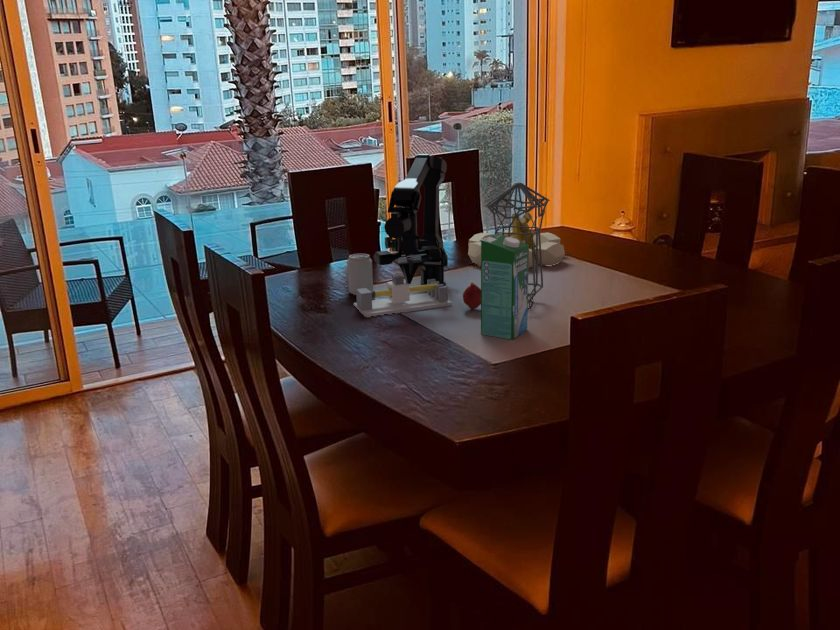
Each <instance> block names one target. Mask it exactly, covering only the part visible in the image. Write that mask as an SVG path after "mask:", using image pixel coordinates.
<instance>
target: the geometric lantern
mask: <svg viewBox="0 0 840 630" xmlns="http://www.w3.org/2000/svg"><path fill="white" fill-rule="evenodd" d="M521 191H522V192H521ZM521 193H523V194H524V196H525V197H526V199H527V200H528V201H523V200H522V195H521ZM509 194H510V195H509ZM513 194H514V199H512V196H513ZM508 195H509V196H508ZM535 195H536V196H535ZM507 196H508V198H506V197H507ZM537 196H538V197H540V198H538V197H537ZM517 197H519V199H518V200H517ZM501 201H504V202H505V205H501V204H500V205H499V203H501ZM549 201H551V199H549V198H547V197H546V196H544V195H542V194H541V193H539V192H537V191H535V190H534V189H532V188H531V187H529V186H527V185H526V184H524V183H523V182H515V183H513V184H512V185H511V186H510V187H509V188H507V189H506V190H504V191H503V192H501V193H500V194H499V195H497V196H496V197H495V198H493V199H492V200H489V202H487V203H486V204H485V206H486V207H487V209H488V210H489V211H490V212H491V213H492V215H493V223H494V234H496V233H500V234H502V235H504V234H508V237H510V234H520V235H525V244H527V235H531V241H532V262H533V266H532V277H533V279H532V280H533V283H531V282H528V286H533V289H532V291H531V292H530V293H529V292H528V307H530V305H531V301H530V300H533V301H534V297H535V296H536V295H537V294H538V293H539V292H540V291H541V290H542V289H543V288H544V278H543V277H544V276H543V265H542V256H541V239H540V233H541V230H542V225H543V220H544V216H545V214H546V213H545V212H546V207H547V205H548V203H549ZM511 202H514V203H511ZM517 203H520V206H517ZM523 204H526V205H525V206H523ZM529 204H530V205H529ZM528 205H529V206H528ZM499 208H501V209H503V210H504V213H502V212H500V211H499V210H498V209H499ZM507 208H509V209H513V212H514V213H513V214H515V216H512V215H511V216H510V215H509V216H507V211H506V209H507ZM535 208H537V215H536V216H535V219H534V220H533V217H532V218H531V216H532V215H531V216H530V214H531V211H533V210H534V209H535ZM516 211H517V212H516ZM516 213H517V214H516ZM525 213H528V215H529V216H530V218H531V220H530V221H531V222H532V226H529V227H525V226H523V225H522V223H521V221H520V220H519V218H520V216H522V215H524V214H525ZM529 213H530V214H529ZM496 216H497V219H498V220H499V222H500V224H499V225H498V226H497V221H496ZM500 216H501V217H503V219H502V220H501V217H500ZM518 216H519V218H518ZM540 217H541V218H540ZM512 218H514V219H513V220H512ZM516 218H517V220H518V221H519V223H520V225H521V226H512V224H513V222H514V220H515V219H516ZM538 218H540V222H539V227H538V226H536V224H535V223H536V221H537V219H538ZM505 219H506V220H508V219H511V222H510V224H509V225H504V224H503V223H504V221H505ZM512 227H516V228H523V230H524V231H525V233H510V230H511V228H512ZM525 228H529V229H531V230H530V233H527V231H526V230H525ZM505 229H507V230H508V233H506V232H504V231H505ZM533 229H535V231H533V232H534V233H531V231H532V230H533ZM500 230H502V231H500ZM533 234H534V235H536V256H535V251H534V242H533ZM538 237H539V254H540V266H539V263H538ZM534 259H535V263H536V265H535V263H534ZM538 267H539V268H540V284H539V282H538V281H539V280H538V277H539V276H538V275H539V271H538V270H539V268H538ZM537 286H538V287H539V288H538V289H537Z"/></svg>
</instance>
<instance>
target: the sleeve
mask: <svg viewBox="0 0 840 630" xmlns="http://www.w3.org/2000/svg"><path fill="white" fill-rule="evenodd" d="M409 287H410V284H408V283H407V282H406V280H405V278H404V275H403V276H402V275H401V274H396V275H395V274H394V275H392V276H391V281H387V282H386V290H389V289H392V295H391V296H387V298H388V299H389V300H390V301H391V302H393V303H398V302H405V301H410V295H411V293H409Z"/></svg>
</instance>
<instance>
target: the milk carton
mask: <svg viewBox="0 0 840 630" xmlns="http://www.w3.org/2000/svg"><path fill="white" fill-rule="evenodd" d="M493 234H494V235H492V236H489V237H487V238H484V239H482V240H481V267H480V289H481V305H480V335H483V336H488V337H495V338H500V339H506V340H512V341H513V340H514V339H516V338H517V337H518V336H520V335H522V332H523V331H524V332H526V331H527V330H528V314H529V313H528V307H529V302H528V299H529V297H528V293H529V285H528V283H529V270H530V268H529V245H528V244H525V243H523V242H520V241H519V240H518V239H515V238H512V237H507V236H504V235H501V234H499V233H496V234H495V233H493ZM526 329H527V330H526ZM525 330H526V331H525ZM524 332H523V333H524Z"/></svg>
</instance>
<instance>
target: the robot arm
mask: <svg viewBox="0 0 840 630" xmlns="http://www.w3.org/2000/svg"><path fill="white" fill-rule="evenodd" d="M413 159H414V160H413V163H412V165H411V167H410V168H409V171H408V172H407V174H406V176H405V178H404V180H402V181H400V182H397V184H396V185H395V186H394V187H393V189H392V191H391V193H390V197H389V198H390V199H389V204H388V209H387V213H389V214H390V217H389V218H388V219H387V220H386V221H385V223H384V226H383V227H384V232H385V234H386V237H384V248H385V249H386V250H380V251H375V252H374V253H373V254H374V255H373V261H374V262H375V263H376V264H378V265H379V266H387V265H388V266H389V265H392V263H395V264H396V265H397V266H398V267H399V268H400V270H401V273H402V275H403V277H404V281H405V282H407V283H408V284H409V285H411V284H412V282H413V280H414V277H415V274H416V273H417V270H418V268H419V267H420V266H421V269H420V281H419V282H420V284H421V285H427V280H430V279H435V280H436V281H439V284H443V285H444V286H445V285H447V283H446V282H445V273H444V272H445V267H447V266H448V264H449V259H448V257H449V256H448V255H447V252H446V250H445V248H444V241H443V239H442V238H441V236H440V235H439V226H440V225H439V223H440V222H439V219H440V218H439V217H440V215H439V214H440V213H439V211H440V186H441V185H442V183H443V182H444V180H445V176H446V172H447V169H448V168H447V167H448V165H447V162H446V160H444V159H443V157H438V156H434V155H433V154H430V153H417V154H414V157H413ZM422 185H423V188H424V189H423V190H424V191H423V192H424V193H423V233H422V236H421V238H420V237H419V236H420V235H418V219H417V218H418V217H417V216H418V215H417V213H418V211H419V209H420V205H421V201H422V193H421V191H420V189H421V187H422ZM419 238H420V239H419ZM387 249H391V251H389V250H387ZM392 252H393V253H392Z"/></svg>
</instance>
